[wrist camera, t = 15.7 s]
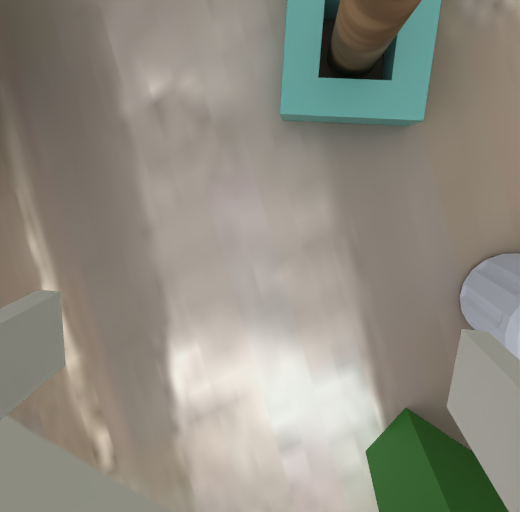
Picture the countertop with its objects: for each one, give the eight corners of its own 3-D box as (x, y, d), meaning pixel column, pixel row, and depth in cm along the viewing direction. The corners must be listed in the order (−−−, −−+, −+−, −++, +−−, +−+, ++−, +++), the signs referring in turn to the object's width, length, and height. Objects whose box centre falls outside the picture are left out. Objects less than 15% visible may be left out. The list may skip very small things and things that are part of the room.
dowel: (325, 81, 37) (351, -10, 18) (329, 30, 36) (362, -126, 16) (372, 83, 37) (451, -8, 17) (378, 31, 35) (469, -128, 16)
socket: (282, 120, 38) (280, 113, 33) (292, -19, 35) (290, -48, 30) (407, 126, 37) (423, 120, 32) (427, -16, 34) (448, -46, 29)
